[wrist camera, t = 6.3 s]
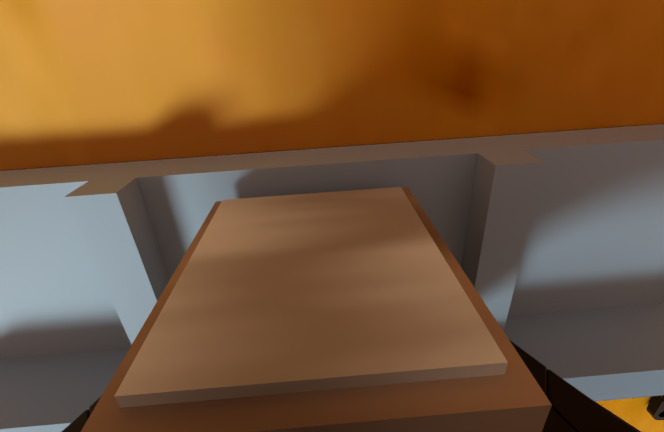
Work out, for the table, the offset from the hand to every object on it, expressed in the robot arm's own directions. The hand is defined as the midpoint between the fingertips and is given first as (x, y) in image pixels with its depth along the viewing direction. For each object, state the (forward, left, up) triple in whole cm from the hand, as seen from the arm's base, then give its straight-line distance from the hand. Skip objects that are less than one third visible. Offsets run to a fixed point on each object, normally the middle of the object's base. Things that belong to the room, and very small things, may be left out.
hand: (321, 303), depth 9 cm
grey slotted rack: (0, 0, -3) cm, 3 cm away
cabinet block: (0, 0, -1) cm, 1 cm away
